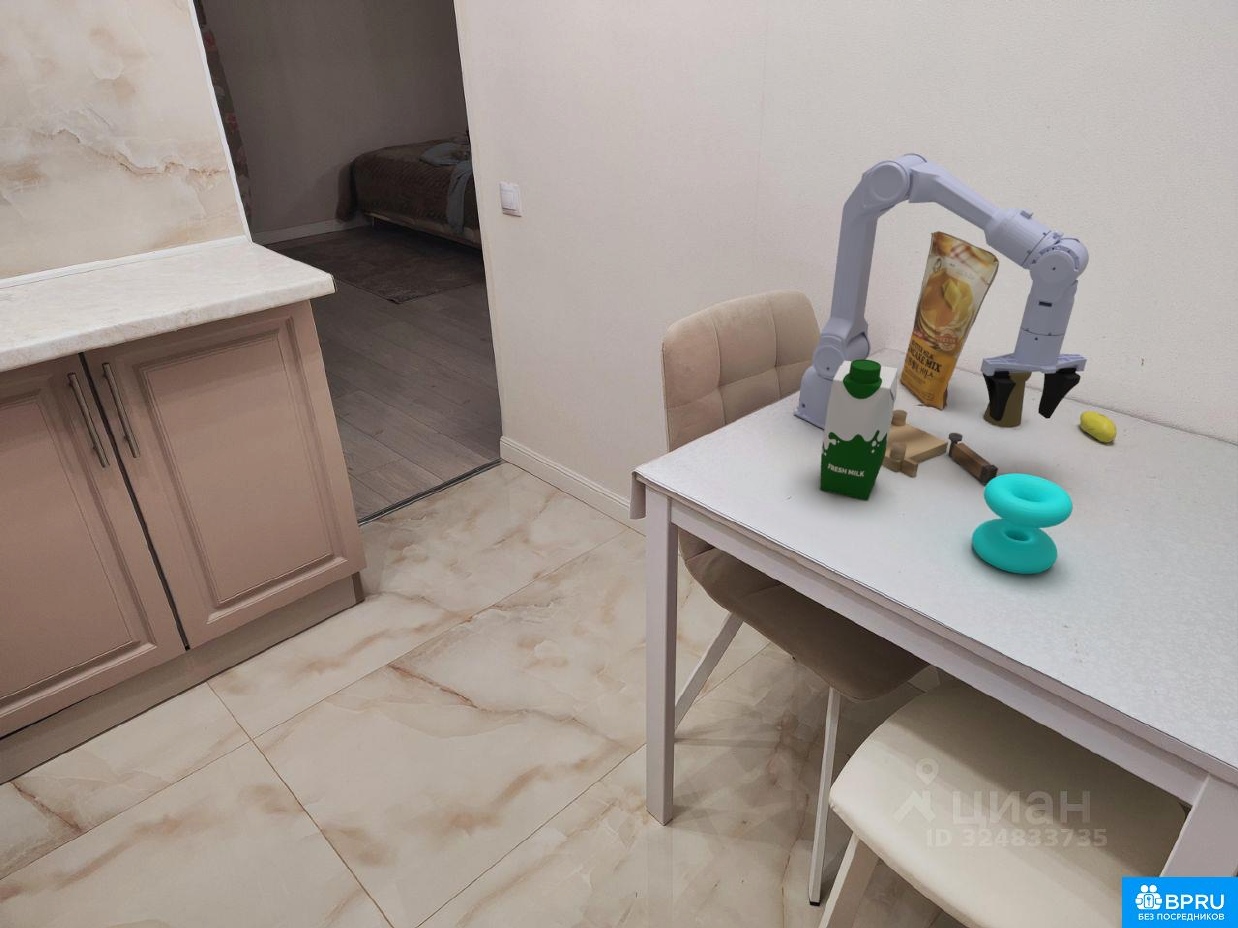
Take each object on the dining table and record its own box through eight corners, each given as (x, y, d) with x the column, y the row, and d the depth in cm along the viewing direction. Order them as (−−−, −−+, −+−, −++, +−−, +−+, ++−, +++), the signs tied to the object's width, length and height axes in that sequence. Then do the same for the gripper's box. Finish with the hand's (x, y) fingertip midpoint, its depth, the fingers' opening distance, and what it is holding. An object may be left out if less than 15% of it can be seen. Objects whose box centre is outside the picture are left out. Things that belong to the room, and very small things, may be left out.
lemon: (1094, 446, 129) (1101, 425, 127) (1070, 424, 136) (1077, 404, 134) (1120, 446, 129) (1127, 425, 127) (1095, 425, 136) (1101, 404, 134)
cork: (1024, 429, 134) (1041, 368, 129) (987, 426, 135) (1002, 366, 130) (1016, 414, 139) (1032, 355, 134) (980, 411, 140) (994, 353, 135)
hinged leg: (950, 456, 125) (953, 443, 124) (960, 455, 125) (963, 442, 124) (983, 483, 117) (987, 469, 116) (994, 482, 118) (998, 468, 117)
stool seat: (846, 446, 129) (849, 425, 127) (898, 427, 135) (902, 407, 133) (908, 478, 120) (913, 456, 118) (961, 456, 126) (966, 435, 124)
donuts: (1072, 519, 92) (980, 496, 96) (1049, 587, 96) (963, 563, 101) (1078, 481, 99) (993, 462, 103) (1056, 547, 104) (976, 526, 108)
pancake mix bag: (921, 371, 156) (950, 228, 143) (968, 412, 140) (1006, 255, 126) (889, 373, 156) (914, 229, 142) (932, 414, 139) (965, 256, 126)
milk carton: (812, 492, 116) (829, 365, 107) (825, 464, 123) (842, 344, 114) (873, 505, 113) (896, 376, 103) (883, 476, 120) (906, 353, 110)
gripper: (1008, 341, 106) (986, 431, 112) (1110, 336, 107) (1082, 426, 114) (982, 324, 112) (962, 410, 119) (1078, 320, 113) (1054, 405, 120)
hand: (1019, 417), depth 117 cm, fingers open, 7 cm apart
